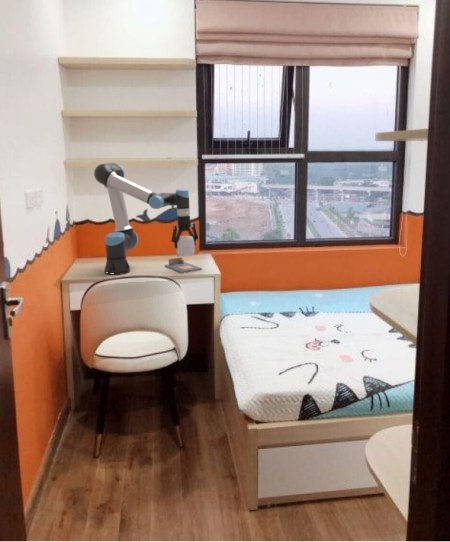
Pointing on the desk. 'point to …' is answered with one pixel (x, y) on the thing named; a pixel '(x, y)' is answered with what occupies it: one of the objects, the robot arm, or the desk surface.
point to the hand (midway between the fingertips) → (185, 252)
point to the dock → (181, 265)
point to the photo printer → (186, 246)
